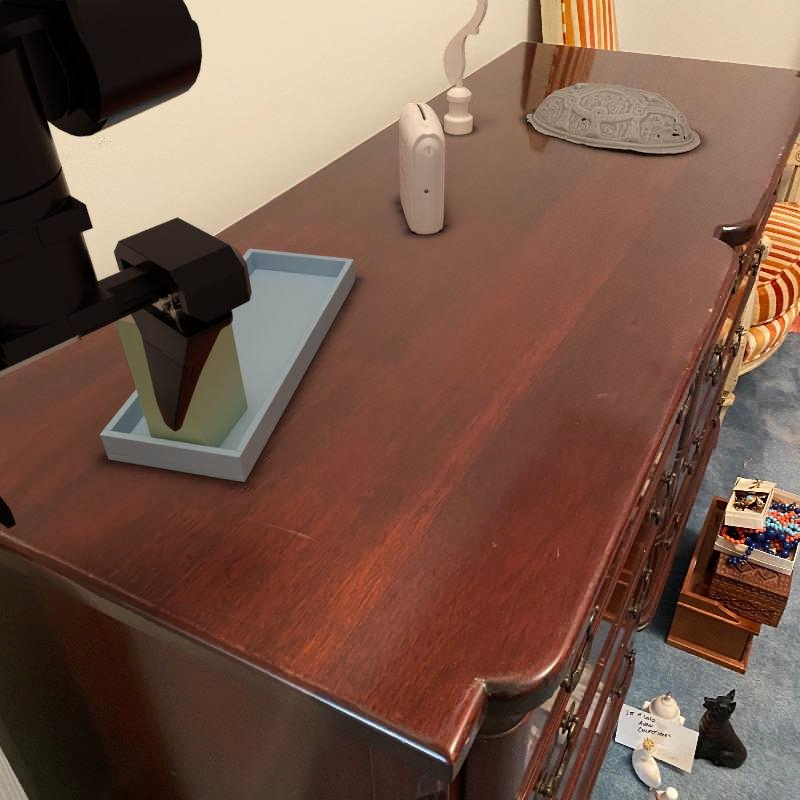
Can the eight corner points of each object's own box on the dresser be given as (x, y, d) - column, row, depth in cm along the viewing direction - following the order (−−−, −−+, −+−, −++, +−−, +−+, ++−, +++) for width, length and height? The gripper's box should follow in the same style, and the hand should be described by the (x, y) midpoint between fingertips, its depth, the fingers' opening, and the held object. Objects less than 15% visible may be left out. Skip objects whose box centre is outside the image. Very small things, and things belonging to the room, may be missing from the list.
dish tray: (244, 482, 56) (239, 457, 54) (108, 459, 58) (99, 434, 56) (355, 281, 78) (353, 259, 76) (253, 270, 80) (249, 248, 78)
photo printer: (447, 234, 85) (450, 123, 77) (409, 237, 85) (408, 126, 77) (431, 195, 93) (433, 91, 85) (397, 197, 93) (395, 93, 85)
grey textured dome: (677, 161, 98) (688, 106, 94) (506, 133, 110) (510, 83, 106) (713, 136, 108) (724, 86, 105) (554, 113, 121) (559, 67, 117)
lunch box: (209, 461, 57) (173, 316, 49) (151, 448, 58) (106, 303, 50) (249, 407, 62) (223, 266, 53) (195, 396, 63) (161, 256, 55)
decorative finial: (436, 131, 110) (439, -71, 94) (450, 122, 112) (454, -76, 96) (473, 138, 107) (482, -68, 91) (485, 128, 110) (497, -73, 94)
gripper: (97, 76, 38) (165, 333, 48) (-363, 198, 28) (-156, 492, 38) (231, 129, 32) (277, 410, 42) (-293, 308, 22) (-69, 623, 32)
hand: (96, 471), depth 39 cm, fingers open, 9 cm apart
